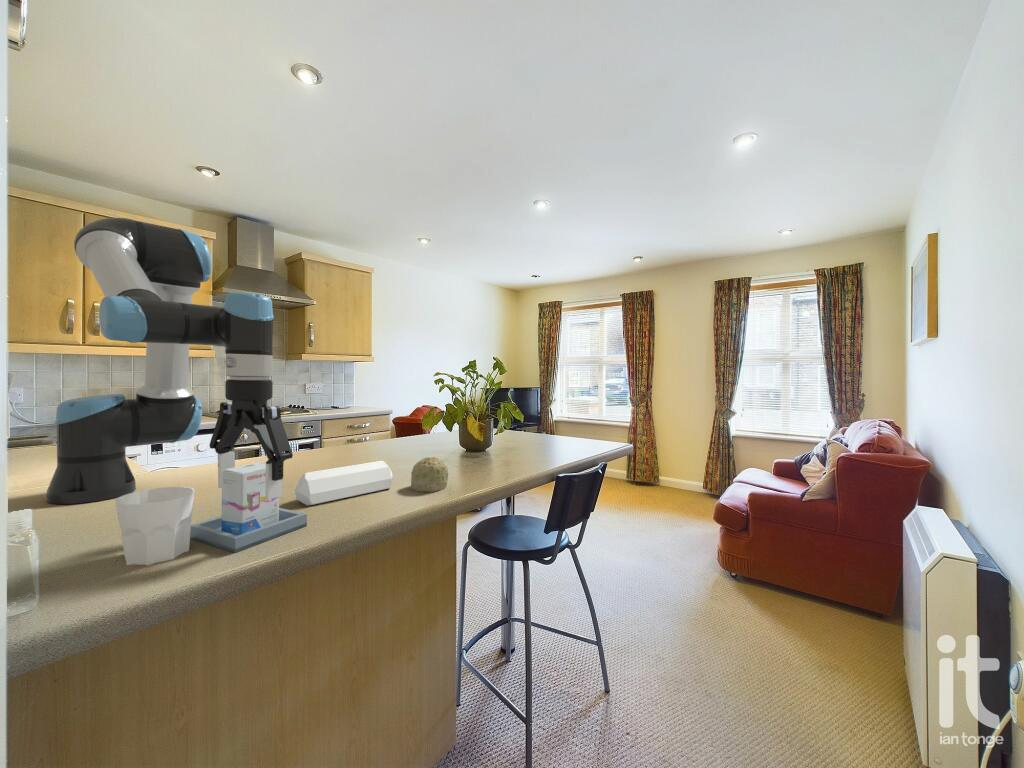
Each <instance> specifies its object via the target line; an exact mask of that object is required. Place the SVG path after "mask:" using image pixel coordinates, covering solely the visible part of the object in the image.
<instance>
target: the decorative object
mask: <svg viewBox="0 0 1024 768" xmlns="http://www.w3.org/2000/svg"><path fill="white" fill-rule="evenodd" d="M448 470H449V469H448V465H447V464H446V463H445V462H444V461H443V460H442V459H440V458H439V457H436V456H426V457H423V458H422V459H421V460H419V461H417V462H416V463H414V465H413V467H412V470H411V474H410V475H411V476H410V477H411V478H410V479H411V480H410V485H411V489H412V490H414V491H417V492H423V493H424V492H425V493H427V492H428V493H434V492H439V491H442V490H444V489H445V488H446V487H447V485H448V480H449V479H448V478H449V472H448Z"/></svg>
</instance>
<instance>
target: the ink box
mask: <svg viewBox="0 0 1024 768" xmlns="http://www.w3.org/2000/svg"><path fill="white" fill-rule="evenodd" d="M266 462H267V461H266ZM266 462H265V461H257V462H253V463H247V464H243V465H239V466H238V465H237V466H235V467H234V468H229V469H225V471H223V472H222V488H221V516H222V527H221V531H223V532H227V533H230V534H234V535H237V536H238V535H241V534H244V533H246V532H249V531H252V530H255V529H258V528H261V527H264V526H267V525H270V524H273V523H276V522H279V508H280V496H279V497H276V498H272V499H269V500H268V499H266Z"/></svg>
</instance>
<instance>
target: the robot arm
mask: <svg viewBox="0 0 1024 768" xmlns="http://www.w3.org/2000/svg"><path fill="white" fill-rule="evenodd" d="M73 246H74V251H75V254H76V256H77V259H79V262H81V264H82V265H83V266H84V267H85V268H86V269H89V270H90V271H91V272H92V274H93V276H94V278H95V280H96V282H97V284H98V286H99V288H100V290H101V292H102V293H103V296H104V297H103V298H102V299H101V301H100V304H99V312H98V320H99V321H98V322H99V326H100V332H101V335H102V337H104V338H106V339H107V340H109V341H115V342H116V341H119V342H128V343H130V344H132V343H133V344H138V343H144V344H145V343H146V344H145V346H146V347H145V365H144V366H145V367H144V370H145V372H144V385H143V386H141V387H140V388H138V389H136V394H135V395H136V396H135V398H133V399H131V398H130V399H128V398H127V399H126V396H125V395H124V394H123V393H112V394H111V393H110V394H99V395H91V396H84V397H83V396H82V397H76V398H72V399H71V398H70V399H66V400H64V401H61V402H60V403H59V404H58V405H57V407H56V415H55V421H54V424H55V425H56V458H57V459H56V463H57V464H56V468H55V471H54V473H53V475H52V477H51V480H50V483H49V485H48V487H47V489H46V502H47V503H49V504H53V505H71V504H75V505H76V504H82V503H83V504H84V503H91V502H98V501H99V502H101V501H105V500H110V499H115V498H119V497H121V496H123V495H126V494H129V493H133V492H135V491H136V489H137V487H136V482H137V481H136V479H135V477H134V474H133V472H132V470H131V467H130V465H129V464H128V461H127V458H126V450H127V449H126V448H127V447H128V448H129V447H140V446H148V445H156V444H159V445H160V444H168V443H169V444H174V443H177V442H183V441H184V442H185V441H189V440H191V439H192V438H194V437H195V435H196V434H197V433H198V431H199V429H200V426H201V423H202V417H203V410H202V407H203V405H202V402H201V400H200V398H198V397H196V396H194V395H195V391H194V390H192V388H190V387H189V385H188V378H189V364H190V362H189V360H190V345H197V346H215V347H224V348H225V350H224V351H225V353H224V354H225V360H224V365H225V376H226V377H229V379H226V381H224V383H225V385H224V389H225V391H224V392H225V393H224V394H225V395H224V396H225V399H226V400H228V401H225V402H224V401H222V402H220V403H219V410H218V411H219V414H218V416H217V419H216V421H215V422H216V423H215V426H214V430H213V433H212V435H211V439H210V441H209V448H210V449H211V450H212V449H214V450H215V451H214V452H215V453H216V454H217V473H218V474H217V477H218V478H217V481H218V483H217V487H218V489H222V472H223V471H225V469H229V468H234V467H236V465H235V464H236V463H235V462H236V459H235V457H236V456H235V455H236V453H235V450H236V449H235V445H236V443H237V441H238V440H239V438H240V437H241V434H242V433H243V431H244V430H245V429H246V430H250V432H251V433H253V434H255V436H256V438H257V441H259V444H260V445H261V446H260V447H262V450H263V452H264V454H265V456H266V457H267V461H266V499H268V500H269V499H272V498H276V497H279V498H280V497H281V496H283V478H284V464H285V461H287V460H290V459H292V458H293V455H294V454H293V452H292V448H291V445H290V442H289V439H288V436H287V433H286V430H285V426H284V424H283V423H284V422H283V421H282V415H281V413H282V412H281V411H282V410H281V406H279V405H275V406H268V400H271V399H272V398H273V390H274V389H273V388H274V387H273V383H274V382H273V380H272V379H270V377H271V378H272V377H273V376H274V355H273V339H274V337H273V335H274V332H273V331H274V318H275V316H274V315H275V314H274V313H273V311H274V310H273V309H274V308H273V300H272V299H271V297H270V296H268V295H264V294H260V293H253V292H242V291H241V292H239V291H237V292H233V291H232V292H229V293H227V294H226V295H225V297H224V298H225V299H224V301H225V302H224V305H223V306H216V305H215V306H213V305H205V304H193V295H194V294H195V293H196V292H198V291H199V290H201V284H202V283H205V282H208V281H209V280H210V278H211V274H212V257H211V252H210V249H209V246H208V244H207V242H206V241H205V239H204V238H203V237H202V236H201V235H200V234H197V233H194V232H190V231H187V230H184V229H180V228H174V227H169V226H165V225H164V226H163V225H159V224H154V223H149V222H144V221H141V220H140V221H139V220H134V219H132V218H126V217H105V218H100V219H97V220H95V221H91V222H89V223H87V224H86V225H84V226H83V227H81V229H79V230H78V232H77V233H76V236H75V238H74V242H73Z"/></svg>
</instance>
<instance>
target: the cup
mask: <svg viewBox="0 0 1024 768" xmlns="http://www.w3.org/2000/svg"><path fill="white" fill-rule="evenodd" d="M194 498H195V489H194V488H192V487H189V486H163V487H154V488H148V489H143V490H138V491H133V492H131V493H128V494H126V495H122V496H119V497H116V499H114V500H115V502H114V503H115V507H116V512H117V518H118V519H117V520H118V523H119V524H118V525H119V527H120V530H121V538H122V545H123V546H122V547H123V555H124V560H125V563H126V566H132V565H145V566H151V565H154V564H156V563H161V562H164V561H165V562H166V561H171V560H175V559H176V558H177V557H178V556H180V555H182V554H185V553H186V552H189V551H190V542H191V539H190V529H191V525H192V517H193V509H194V508H193V507H194V500H195V499H194Z"/></svg>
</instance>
